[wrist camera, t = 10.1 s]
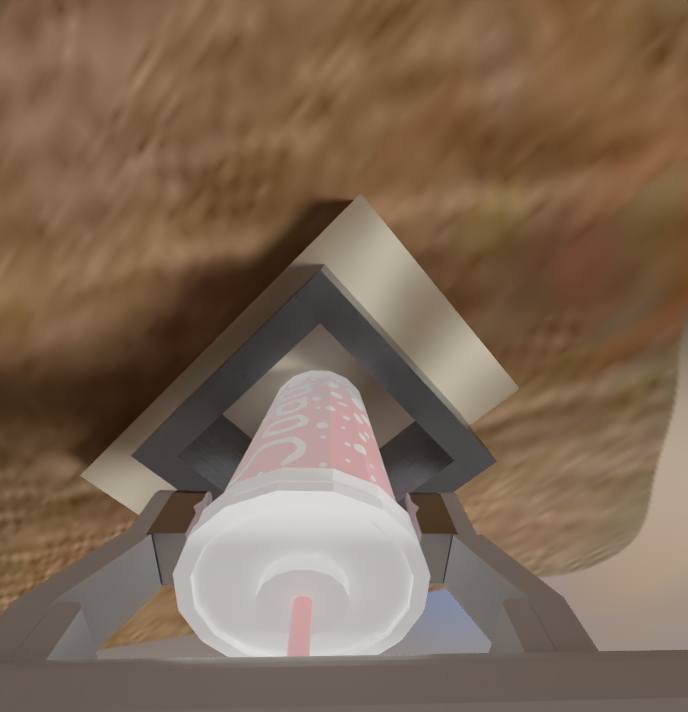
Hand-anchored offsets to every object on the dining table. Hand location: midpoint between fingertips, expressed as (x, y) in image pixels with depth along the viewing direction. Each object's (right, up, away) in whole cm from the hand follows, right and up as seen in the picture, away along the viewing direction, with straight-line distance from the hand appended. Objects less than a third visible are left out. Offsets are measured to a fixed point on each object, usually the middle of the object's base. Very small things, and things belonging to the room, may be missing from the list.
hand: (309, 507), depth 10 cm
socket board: (-2, +1, +8) cm, 9 cm away
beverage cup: (0, +2, +6) cm, 7 cm away
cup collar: (0, +2, +6) cm, 6 cm away
